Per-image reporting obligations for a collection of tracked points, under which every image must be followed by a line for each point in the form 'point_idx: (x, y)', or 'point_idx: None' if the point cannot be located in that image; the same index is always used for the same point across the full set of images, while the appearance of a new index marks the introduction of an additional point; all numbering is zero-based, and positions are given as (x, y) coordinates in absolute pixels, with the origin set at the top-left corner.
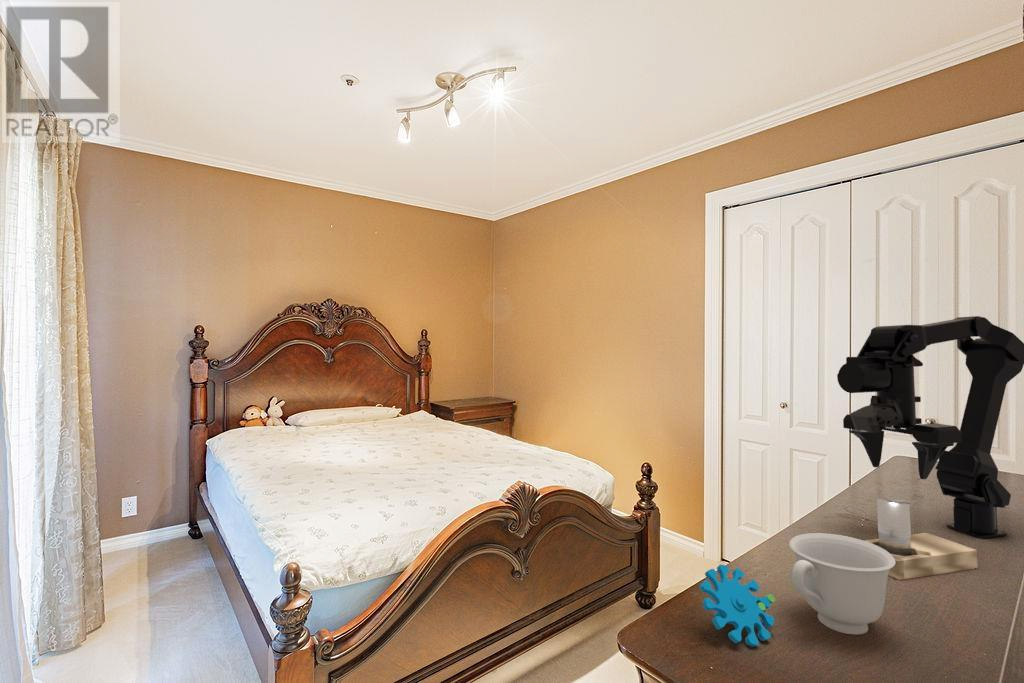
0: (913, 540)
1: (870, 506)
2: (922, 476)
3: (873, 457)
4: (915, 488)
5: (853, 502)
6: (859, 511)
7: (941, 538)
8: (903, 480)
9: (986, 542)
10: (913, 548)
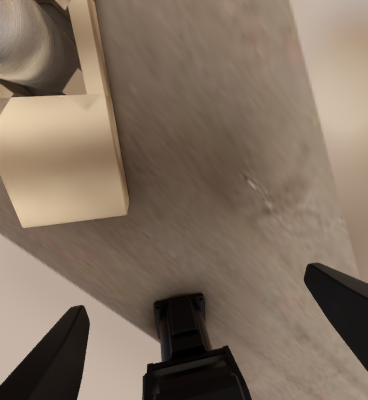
0: (81, 147)
1: (304, 259)
2: (62, 318)
3: (355, 298)
4: (321, 351)
5: (327, 249)
6: (297, 228)
7: (90, 215)
8: (345, 356)
9: (142, 299)
10: (25, 98)
